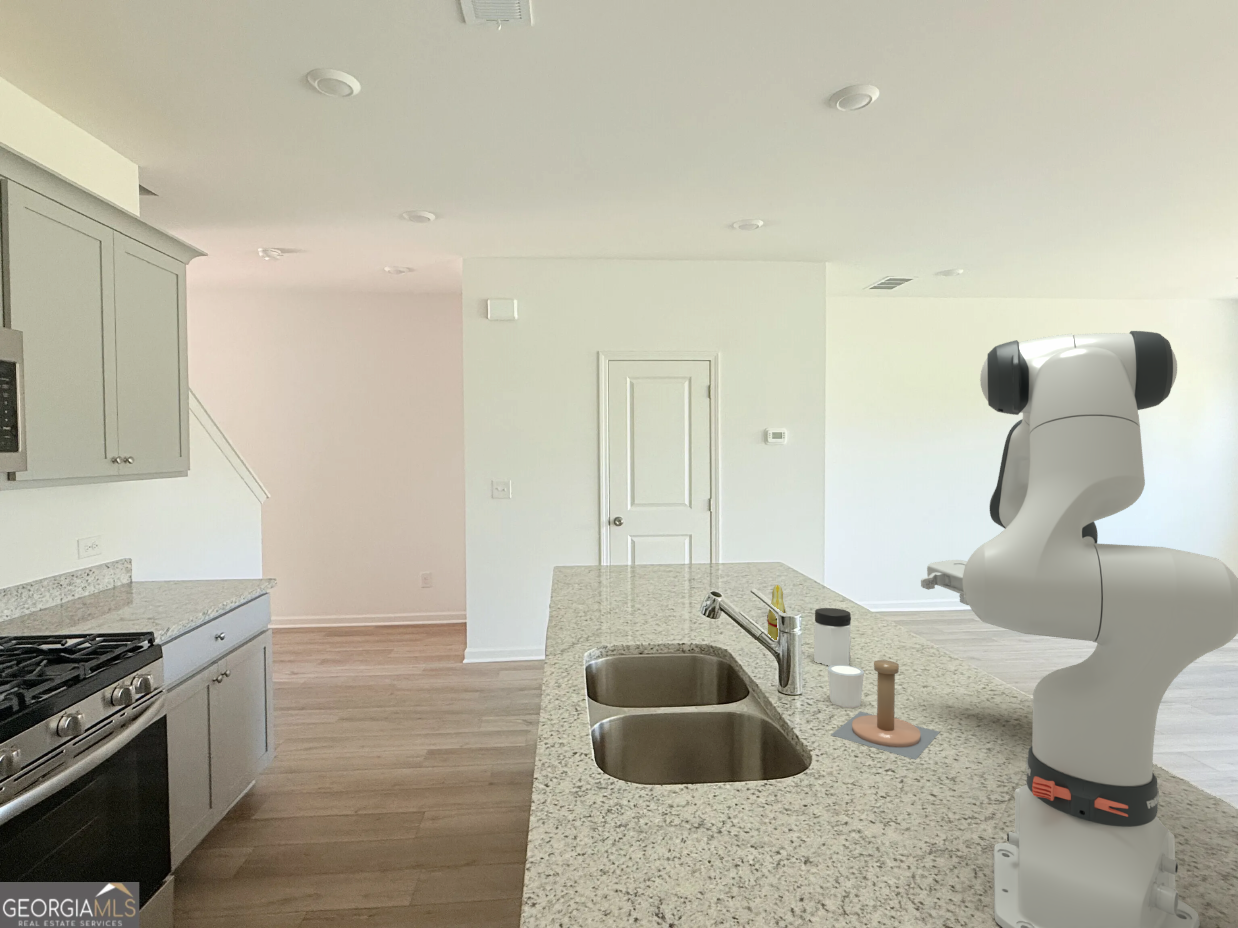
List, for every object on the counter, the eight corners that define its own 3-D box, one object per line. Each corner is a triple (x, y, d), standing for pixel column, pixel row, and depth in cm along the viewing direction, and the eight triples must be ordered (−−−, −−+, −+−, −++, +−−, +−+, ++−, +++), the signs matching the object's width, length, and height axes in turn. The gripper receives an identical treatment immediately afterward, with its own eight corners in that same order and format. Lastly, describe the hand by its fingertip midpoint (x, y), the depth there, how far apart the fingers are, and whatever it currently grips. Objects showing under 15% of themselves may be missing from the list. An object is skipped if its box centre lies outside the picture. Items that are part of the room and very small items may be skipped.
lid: (908, 753, 106) (909, 678, 106) (842, 734, 113) (842, 664, 113) (928, 731, 115) (929, 662, 115) (865, 715, 122) (865, 650, 122)
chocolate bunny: (766, 646, 168) (766, 588, 168) (767, 635, 179) (768, 580, 179) (793, 649, 166) (794, 590, 166) (793, 637, 177) (793, 582, 177)
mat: (915, 762, 104) (915, 759, 104) (830, 738, 113) (830, 734, 113) (939, 735, 115) (939, 731, 115) (860, 714, 124) (860, 711, 124)
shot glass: (866, 712, 125) (867, 676, 125) (829, 709, 126) (829, 673, 126) (861, 699, 131) (861, 665, 131) (825, 697, 133) (825, 662, 133)
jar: (849, 669, 150) (849, 617, 150) (812, 664, 154) (812, 613, 154) (851, 658, 159) (852, 609, 159) (816, 654, 162) (817, 606, 162)
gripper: (962, 548, 129) (902, 560, 125) (1055, 575, 109) (986, 590, 106) (963, 579, 130) (903, 592, 126) (1056, 611, 110) (988, 627, 107)
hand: (942, 591), depth 116 cm, fingers open, 8 cm apart
